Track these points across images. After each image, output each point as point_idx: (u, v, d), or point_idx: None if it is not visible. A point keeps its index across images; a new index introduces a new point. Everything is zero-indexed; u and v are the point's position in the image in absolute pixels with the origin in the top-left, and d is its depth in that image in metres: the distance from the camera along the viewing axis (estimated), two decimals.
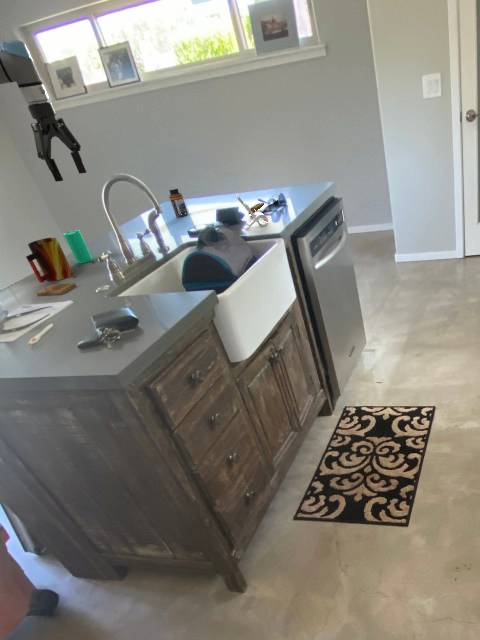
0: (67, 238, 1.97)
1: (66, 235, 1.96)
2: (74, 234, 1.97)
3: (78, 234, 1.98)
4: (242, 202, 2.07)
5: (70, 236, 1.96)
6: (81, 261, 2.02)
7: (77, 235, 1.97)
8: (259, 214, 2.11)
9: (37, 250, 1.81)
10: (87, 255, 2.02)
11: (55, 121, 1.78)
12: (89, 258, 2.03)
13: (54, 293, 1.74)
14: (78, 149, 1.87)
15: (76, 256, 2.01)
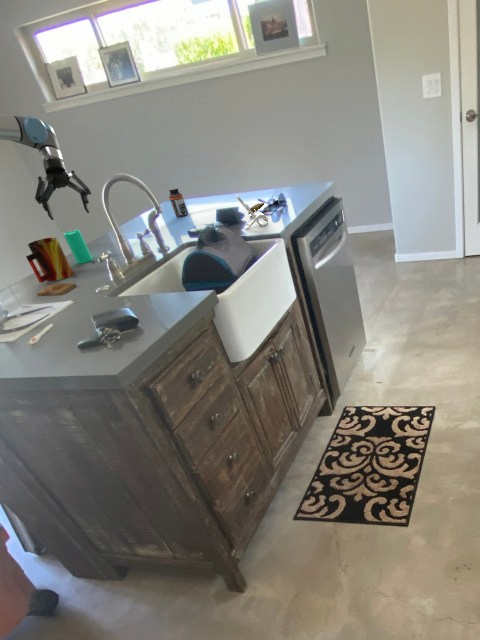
0: (67, 238, 1.97)
1: (66, 235, 1.96)
2: (74, 234, 1.97)
3: (78, 234, 1.98)
4: (242, 202, 2.07)
5: (70, 236, 1.96)
6: (81, 261, 2.02)
7: (77, 235, 1.97)
8: (259, 214, 2.11)
9: (37, 250, 1.81)
10: (87, 255, 2.02)
11: None
12: (89, 258, 2.03)
13: (54, 293, 1.74)
14: None
15: (76, 256, 2.01)
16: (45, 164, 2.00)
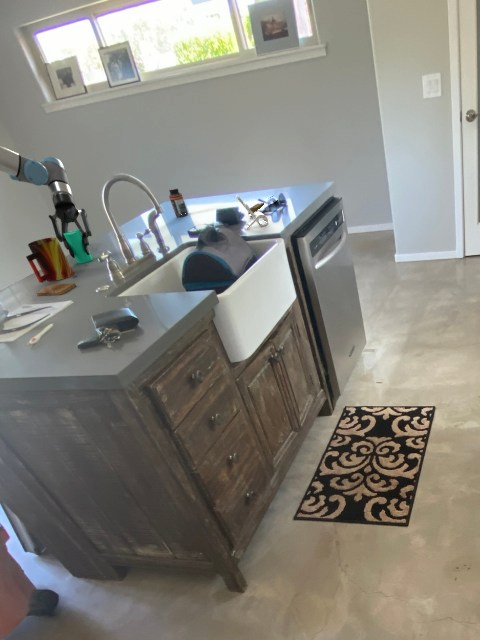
0: (67, 238, 1.97)
1: (66, 235, 1.96)
2: (74, 234, 1.97)
3: (78, 234, 1.98)
4: (242, 202, 2.07)
5: (70, 236, 1.96)
6: (81, 261, 2.02)
7: (77, 235, 1.97)
8: (259, 214, 2.11)
9: (37, 250, 1.81)
10: (87, 255, 2.02)
11: None
12: (89, 258, 2.03)
13: (54, 293, 1.74)
14: None
15: (76, 256, 2.01)
16: (54, 199, 1.98)
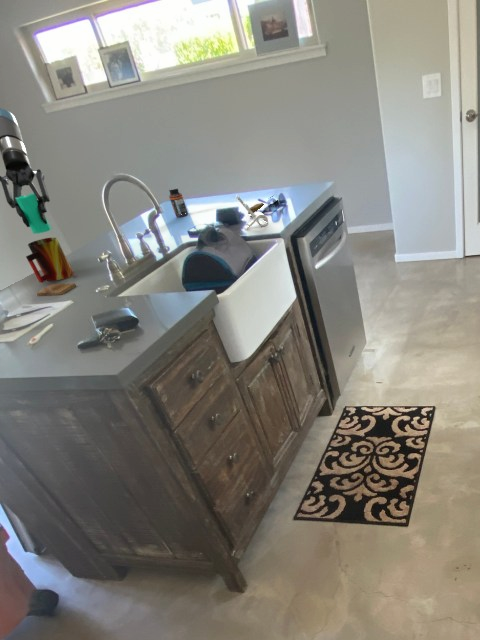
0: (20, 203, 1.68)
1: (18, 199, 1.67)
2: (28, 198, 1.68)
3: (33, 198, 1.69)
4: (242, 202, 2.07)
5: (23, 200, 1.67)
6: (37, 231, 1.73)
7: (32, 199, 1.69)
8: (259, 214, 2.11)
9: (37, 250, 1.81)
10: (44, 224, 1.74)
11: None
12: (47, 227, 1.74)
13: (54, 293, 1.74)
14: None
15: (31, 225, 1.72)
16: (4, 158, 1.69)
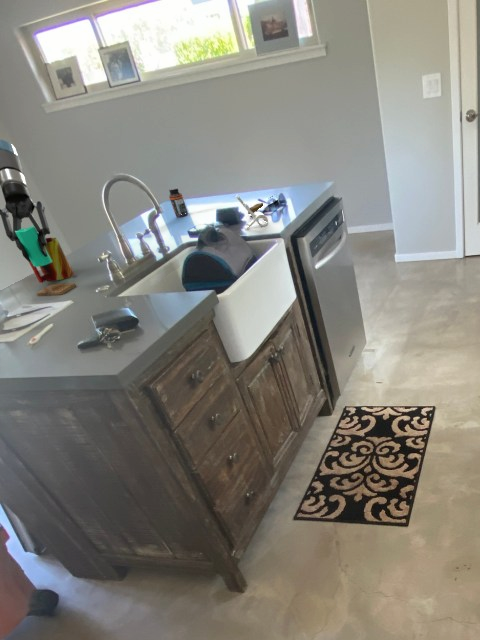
0: (19, 236, 1.64)
1: (18, 233, 1.63)
2: (28, 232, 1.64)
3: (33, 232, 1.65)
4: (242, 202, 2.07)
5: (23, 234, 1.63)
6: (38, 264, 1.69)
7: (31, 233, 1.64)
8: (259, 214, 2.11)
9: None
10: (45, 257, 1.69)
11: None
12: (47, 260, 1.70)
13: (54, 293, 1.74)
14: None
15: (31, 258, 1.68)
16: (4, 190, 1.65)
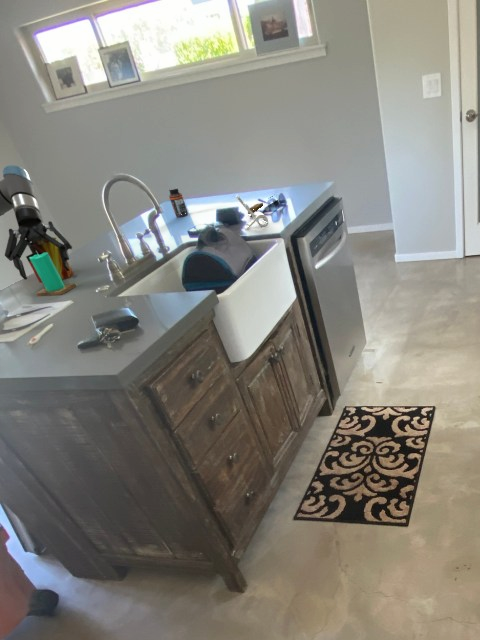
0: (33, 263, 1.69)
1: (32, 259, 1.69)
2: (42, 258, 1.69)
3: (46, 258, 1.70)
4: (242, 202, 2.07)
5: (37, 260, 1.69)
6: (51, 289, 1.75)
7: (45, 259, 1.70)
8: (259, 214, 2.11)
9: (37, 250, 1.81)
10: (58, 282, 1.75)
11: None
12: (60, 285, 1.76)
13: (54, 293, 1.74)
14: None
15: (45, 283, 1.74)
16: (17, 215, 1.69)
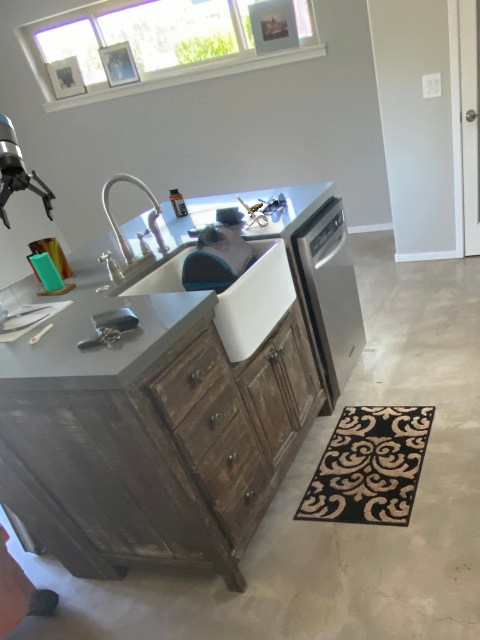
0: (33, 263, 1.69)
1: (32, 259, 1.69)
2: (42, 258, 1.69)
3: (46, 258, 1.70)
4: (242, 202, 2.07)
5: (37, 260, 1.69)
6: (51, 289, 1.75)
7: (45, 259, 1.70)
8: (259, 214, 2.11)
9: (37, 250, 1.81)
10: (58, 282, 1.75)
11: None
12: (60, 285, 1.76)
13: (54, 293, 1.74)
14: None
15: (45, 283, 1.74)
16: (0, 162, 1.69)
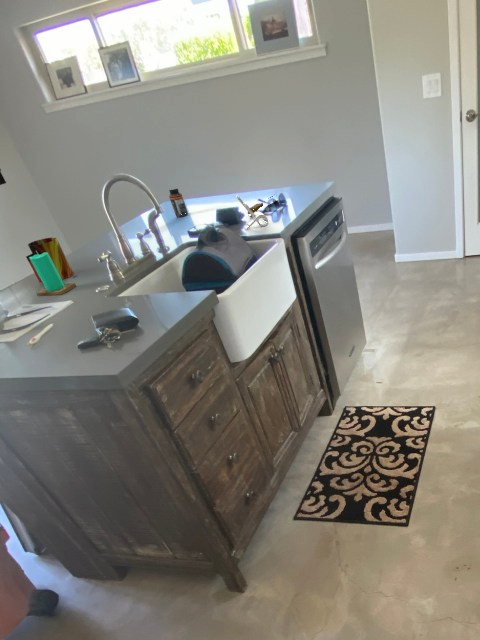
0: (33, 263, 1.69)
1: (32, 259, 1.69)
2: (42, 258, 1.69)
3: (46, 258, 1.70)
4: (242, 202, 2.07)
5: (37, 260, 1.69)
6: (51, 288, 1.75)
7: (45, 259, 1.70)
8: (259, 214, 2.11)
9: (37, 250, 1.81)
10: (58, 282, 1.75)
11: None
12: (60, 285, 1.76)
13: (54, 293, 1.74)
14: None
15: (45, 283, 1.74)
16: None
